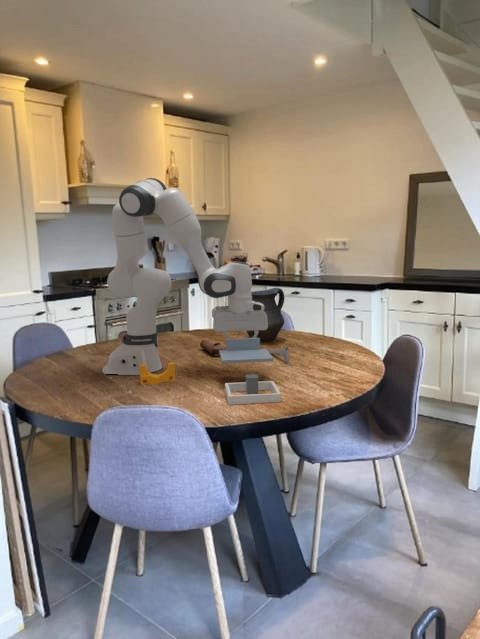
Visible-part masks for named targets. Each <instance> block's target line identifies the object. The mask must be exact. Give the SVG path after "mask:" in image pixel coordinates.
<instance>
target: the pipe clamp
mask: <svg viewBox="0 0 480 639" xmlns="http://www.w3.org/2000/svg"><path fill="white" fill-rule="evenodd" d="M175 365H176V364H175V362H173V361H172V362H168V364H167V368H166V370H164V371H163V372H162V373H160V374H155V373H153V372H149V371H148V370H147V368H146V366H145V364H140V375H139V377H140V386H147V385H146V384H152V385H160V383H170V382H176V366H175Z"/></svg>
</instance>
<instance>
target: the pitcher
mask: <svg viewBox="0 0 480 639" xmlns="http://www.w3.org/2000/svg"><path fill="white" fill-rule="evenodd" d="M251 295H252V301H256V302H259V303H262V304H263V305H264V310H263V311H264V312H265V313H266V315H267V320H268V328H267V329H266V330H258V335H257V337H256V338H260V343H262V342H263V343H264V342H272V341H275V340H276V339H277V337H278V336H279V334H280V332H281V330H282V329H283V327H284V325H285V319H284V316H283V314H282V312H281V311H282V308H283V306H284V303H285V292H284V291H283V289H282V288H280V287H273V288H272V287H271V288H269V289H264V290H255V291H251ZM277 295H278V302H276V297H277ZM245 332H246V333H247V335H248V338H251V337H253V336H254V334H255V333H254V330H253V331H245Z"/></svg>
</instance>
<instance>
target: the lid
mask: <svg viewBox="0 0 480 639" xmlns="http://www.w3.org/2000/svg"><path fill="white" fill-rule="evenodd" d="M225 347H226V350H219V354H220V355H219V357H220V359H221V363H222V364H239V363H241V364H242V363H243V364H244V363H264V362H274V357H273V355H272V353H270V351H269V350H268V348H261V342H260V338H250V337H247V338H246V337H245V338H244V337H243V338H242V337H241V338H230V339H226V338H225Z"/></svg>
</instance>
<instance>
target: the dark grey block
mask: <svg viewBox="0 0 480 639" xmlns="http://www.w3.org/2000/svg"><path fill="white" fill-rule="evenodd" d="M245 382H246V391H245V395H250V394H259V390H258V382H259V376H258V375H257V374H245Z"/></svg>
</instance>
